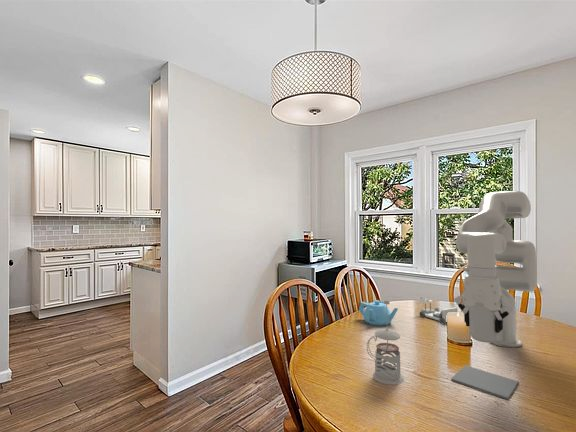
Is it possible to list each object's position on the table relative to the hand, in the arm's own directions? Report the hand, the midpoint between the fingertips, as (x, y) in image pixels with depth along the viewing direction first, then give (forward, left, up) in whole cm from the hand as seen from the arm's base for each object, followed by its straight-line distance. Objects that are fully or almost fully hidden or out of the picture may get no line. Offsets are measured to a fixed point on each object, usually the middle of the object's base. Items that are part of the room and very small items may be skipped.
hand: (483, 328), depth 97 cm
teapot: (-28, -55, -17) cm, 64 cm away
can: (0, 0, -4) cm, 4 cm away
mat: (0, 0, -17) cm, 17 cm away
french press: (+19, -24, -17) cm, 35 cm away
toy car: (-56, -37, -17) cm, 69 cm away
